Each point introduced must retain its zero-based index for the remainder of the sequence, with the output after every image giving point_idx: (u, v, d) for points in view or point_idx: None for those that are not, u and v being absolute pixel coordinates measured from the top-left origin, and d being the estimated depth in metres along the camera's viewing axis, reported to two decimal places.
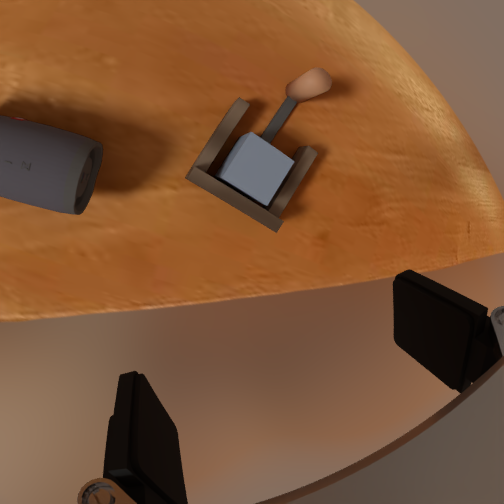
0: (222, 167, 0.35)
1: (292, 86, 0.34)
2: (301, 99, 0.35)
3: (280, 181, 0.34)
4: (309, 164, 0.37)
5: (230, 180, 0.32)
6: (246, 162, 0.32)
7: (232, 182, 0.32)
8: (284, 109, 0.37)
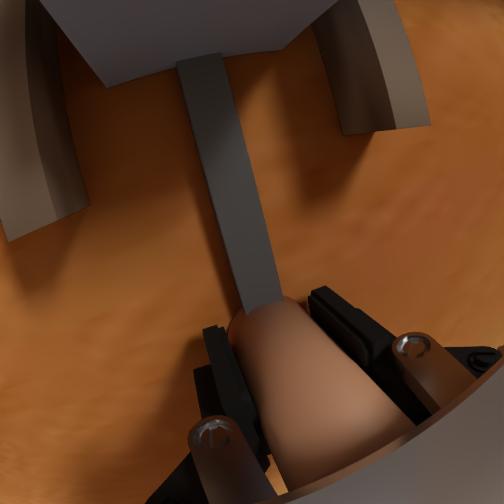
0: None
1: None
2: (259, 336, 0.09)
3: None
4: None
5: None
6: None
7: None
8: (256, 251, 0.10)
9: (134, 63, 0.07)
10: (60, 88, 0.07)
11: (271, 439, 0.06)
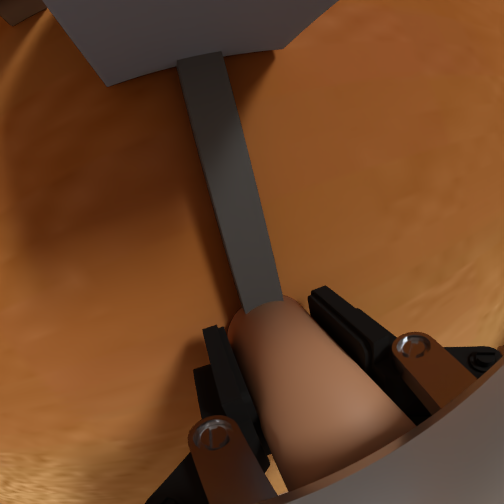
0: None
1: (326, 332, 0.09)
2: (259, 335, 0.09)
3: None
4: None
5: None
6: None
7: None
8: (256, 250, 0.10)
9: (134, 61, 0.07)
10: None
11: (271, 439, 0.06)
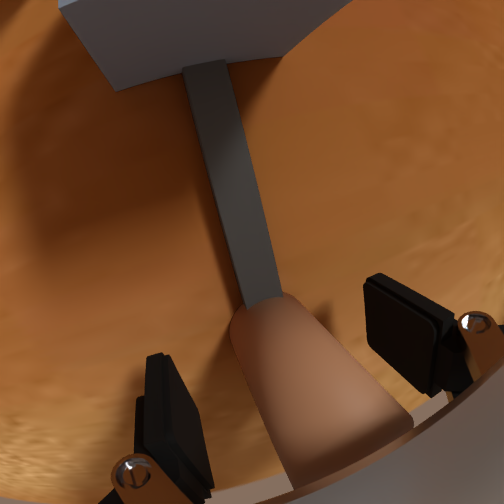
0: None
1: (323, 326, 0.10)
2: (260, 329, 0.09)
3: None
4: None
5: None
6: None
7: None
8: (257, 249, 0.10)
9: (143, 69, 0.07)
10: None
11: (271, 425, 0.07)
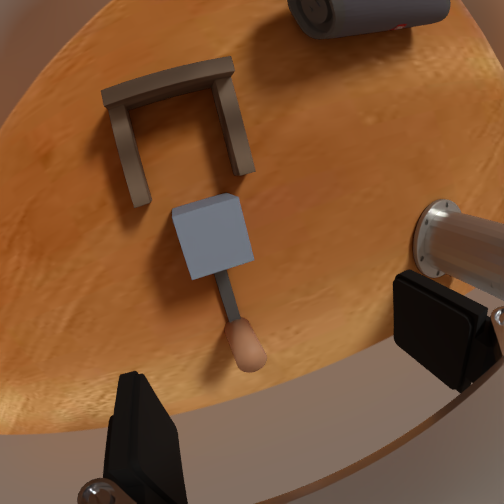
0: None
1: (251, 328, 0.34)
2: (232, 328, 0.34)
3: (184, 251, 0.26)
4: (130, 187, 0.27)
5: (228, 202, 0.26)
6: (231, 231, 0.27)
7: (225, 202, 0.26)
8: (232, 305, 0.35)
9: None
10: None
11: (233, 351, 0.31)
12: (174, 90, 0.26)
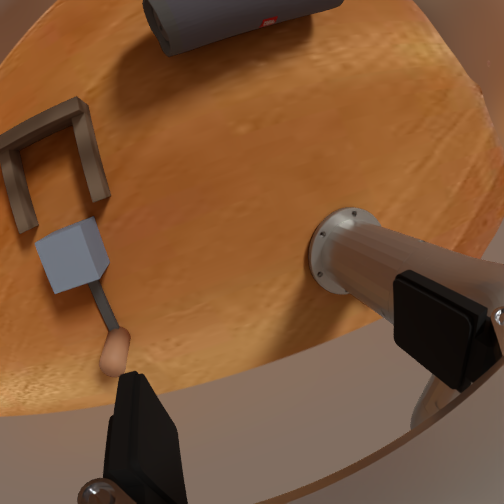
0: (93, 229, 0.31)
1: (123, 338, 0.35)
2: (108, 336, 0.35)
3: (46, 270, 0.27)
4: (15, 217, 0.27)
5: (72, 229, 0.27)
6: (77, 254, 0.28)
7: (70, 230, 0.27)
8: (109, 316, 0.35)
9: None
10: (28, 194, 0.29)
11: None
12: (42, 132, 0.26)
